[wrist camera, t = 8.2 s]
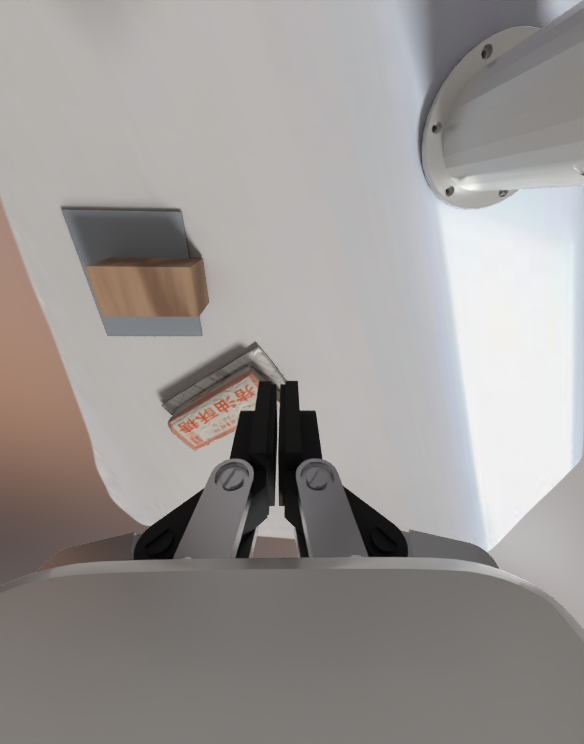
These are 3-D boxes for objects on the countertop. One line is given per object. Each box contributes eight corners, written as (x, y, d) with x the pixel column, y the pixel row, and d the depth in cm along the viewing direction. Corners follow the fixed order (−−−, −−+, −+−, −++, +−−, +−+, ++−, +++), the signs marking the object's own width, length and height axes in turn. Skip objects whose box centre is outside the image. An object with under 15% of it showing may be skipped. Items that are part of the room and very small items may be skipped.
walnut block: (190, 267, 27) (84, 266, 26) (198, 316, 29) (102, 316, 29) (202, 258, 31) (111, 257, 30) (209, 302, 33) (125, 301, 33)
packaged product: (200, 462, 43) (150, 422, 38) (207, 439, 47) (163, 401, 42) (299, 413, 38) (256, 360, 33) (297, 392, 42) (259, 342, 37)
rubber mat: (181, 211, 29) (180, 211, 28) (202, 335, 36) (201, 336, 36) (63, 209, 28) (61, 209, 28) (108, 334, 36) (107, 335, 35)
